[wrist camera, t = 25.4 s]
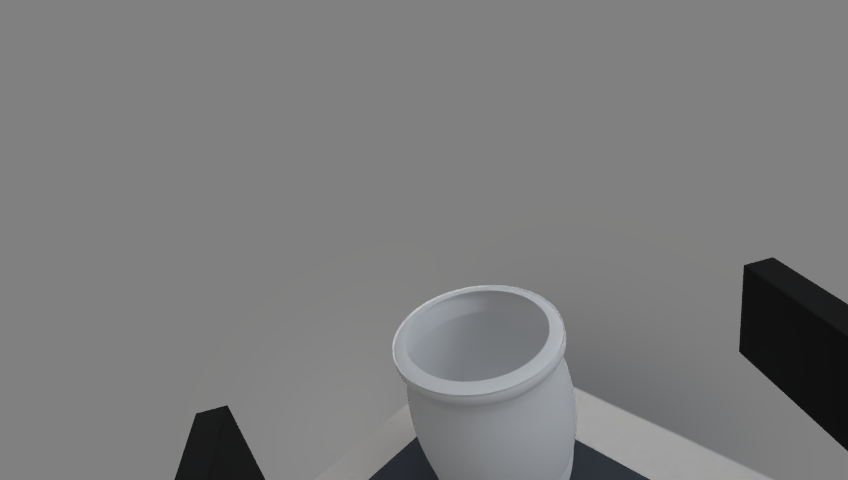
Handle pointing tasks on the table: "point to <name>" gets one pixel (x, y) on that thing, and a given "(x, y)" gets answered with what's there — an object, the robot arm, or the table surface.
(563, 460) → the jar
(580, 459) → the mat
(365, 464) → the table surface
